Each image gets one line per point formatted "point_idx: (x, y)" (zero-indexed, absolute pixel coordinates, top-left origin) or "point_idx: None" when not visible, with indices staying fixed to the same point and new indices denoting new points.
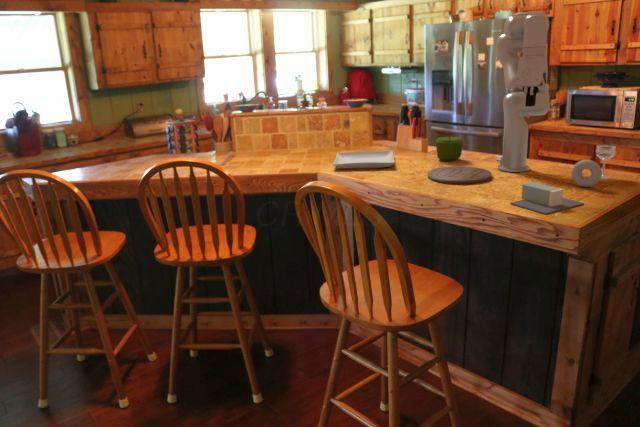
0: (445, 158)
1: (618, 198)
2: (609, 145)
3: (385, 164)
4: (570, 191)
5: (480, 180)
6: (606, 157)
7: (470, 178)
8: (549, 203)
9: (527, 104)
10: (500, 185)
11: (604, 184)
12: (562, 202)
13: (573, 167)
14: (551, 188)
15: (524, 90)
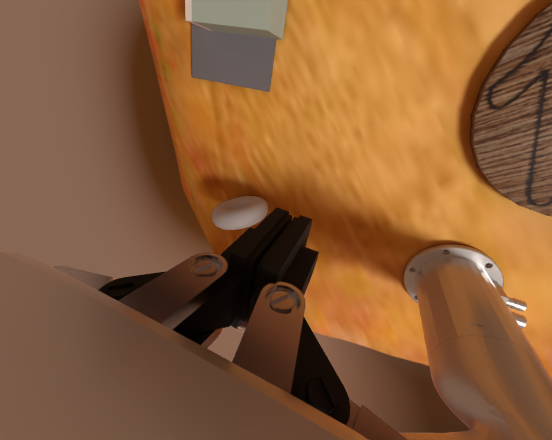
0: None
1: (186, 160)
2: (240, 329)
3: None
4: (254, 154)
5: (490, 74)
6: None
7: (541, 52)
8: None
9: (291, 221)
10: (408, 95)
11: (240, 233)
12: (215, 46)
13: (256, 211)
14: (204, 3)
15: (296, 337)
